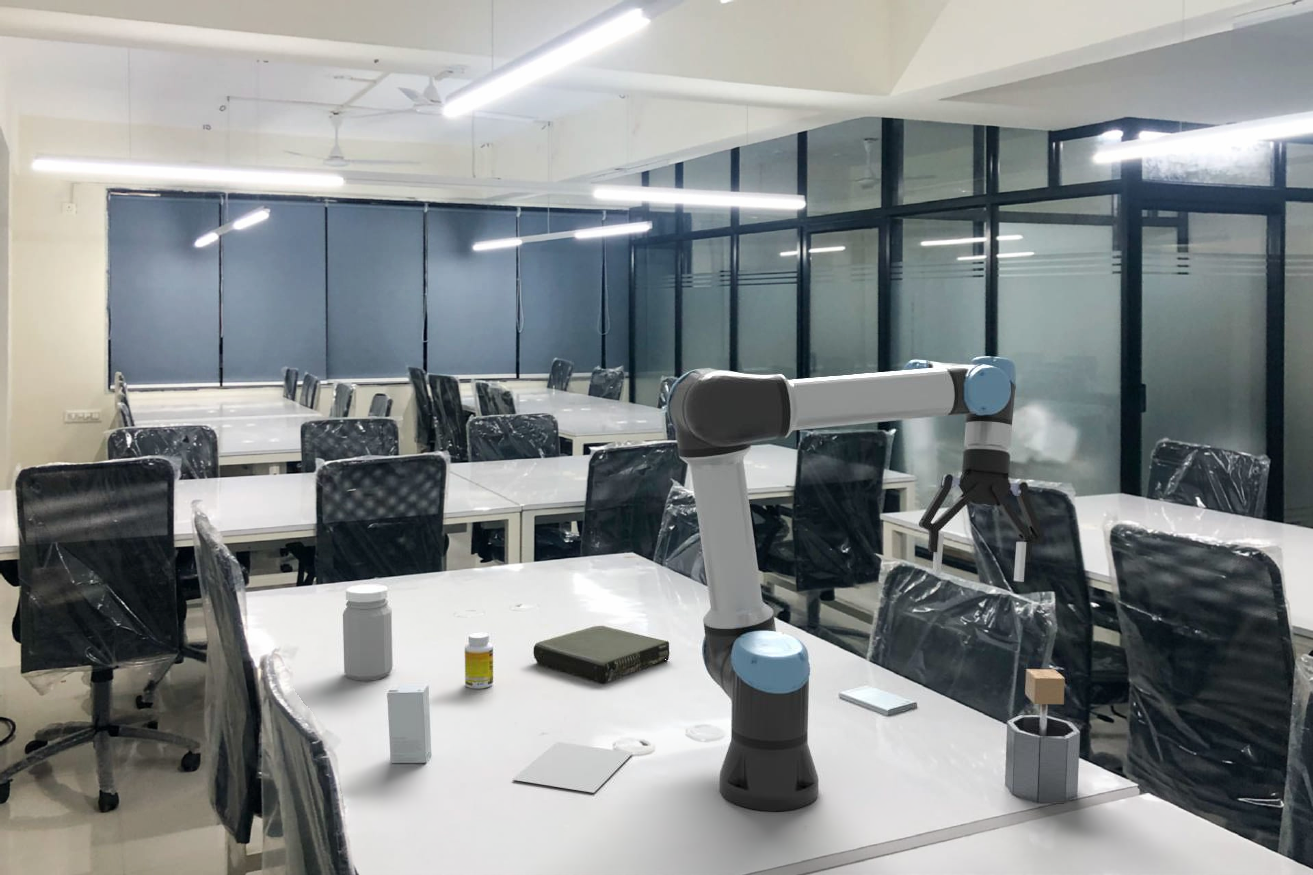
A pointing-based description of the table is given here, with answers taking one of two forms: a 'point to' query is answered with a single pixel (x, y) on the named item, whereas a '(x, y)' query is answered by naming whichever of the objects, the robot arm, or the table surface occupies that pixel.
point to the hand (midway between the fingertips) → (977, 577)
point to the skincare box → (409, 723)
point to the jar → (367, 632)
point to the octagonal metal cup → (1042, 759)
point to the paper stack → (573, 766)
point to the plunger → (1044, 691)
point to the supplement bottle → (478, 661)
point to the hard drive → (877, 700)
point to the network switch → (600, 653)
